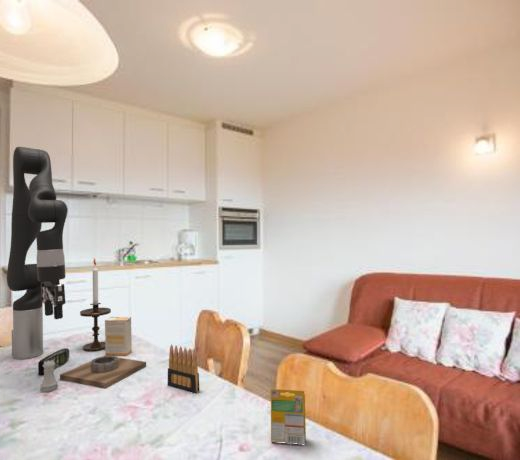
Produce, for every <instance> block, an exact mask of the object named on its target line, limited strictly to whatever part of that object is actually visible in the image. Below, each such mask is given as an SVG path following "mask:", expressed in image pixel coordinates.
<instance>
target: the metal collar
mask: <svg viewBox="0 0 520 460" xmlns="http://www.w3.org/2000/svg"><path fill="white" fill-rule="evenodd" d="M102 356H103V357H102ZM102 356H98V357H96V358H94V359H92V360H91V371H92V372H95V373H105V372H110V371H113V370H115V369H117V368H118V366H119V358H120V357H118V356H117V355H105V356H104V355H102Z"/></svg>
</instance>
